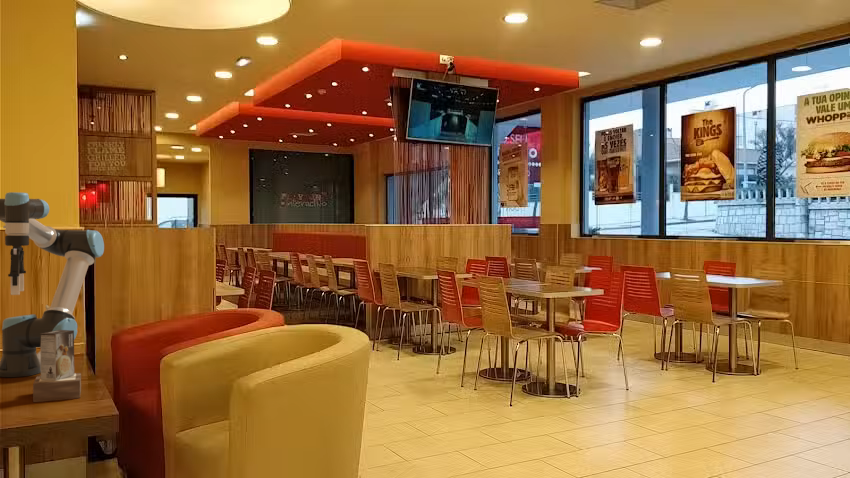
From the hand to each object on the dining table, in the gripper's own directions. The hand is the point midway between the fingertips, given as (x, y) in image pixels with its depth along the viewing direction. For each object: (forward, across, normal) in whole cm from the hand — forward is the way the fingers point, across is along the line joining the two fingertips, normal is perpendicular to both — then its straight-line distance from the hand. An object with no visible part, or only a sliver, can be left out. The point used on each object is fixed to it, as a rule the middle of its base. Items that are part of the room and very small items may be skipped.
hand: (17, 293), depth 251 cm
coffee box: (+28, +20, +14) cm, 37 cm away
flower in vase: (+35, -46, +6) cm, 58 cm away
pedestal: (+34, +20, +14) cm, 42 cm away
